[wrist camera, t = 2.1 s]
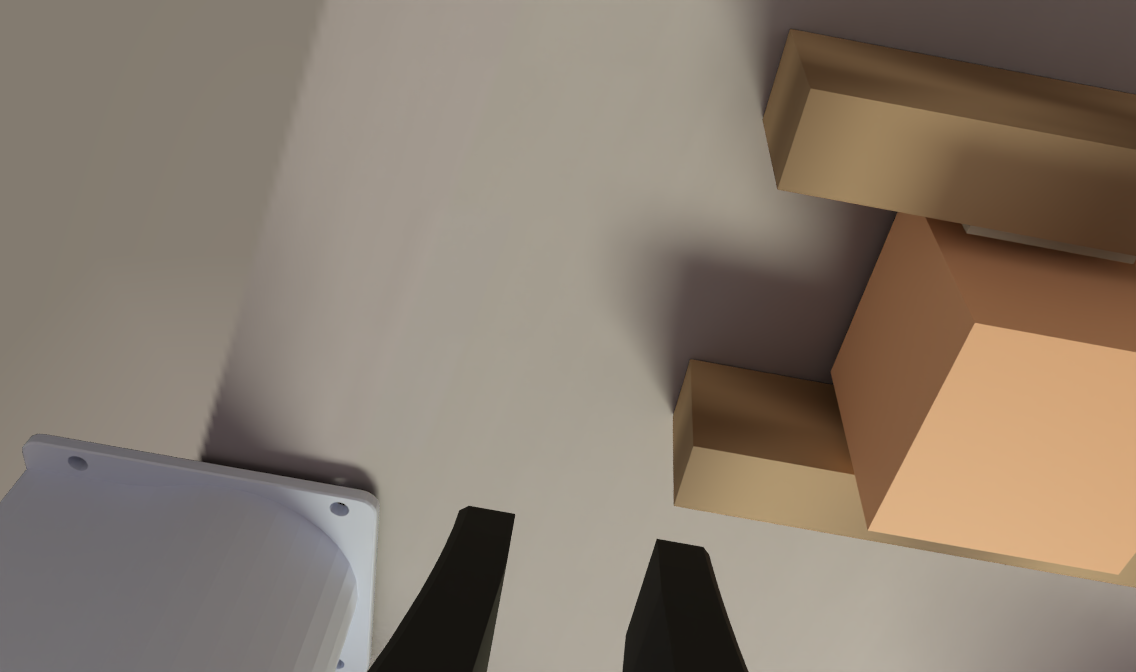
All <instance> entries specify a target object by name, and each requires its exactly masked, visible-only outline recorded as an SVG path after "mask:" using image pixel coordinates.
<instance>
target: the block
mask: <svg viewBox="0 0 1136 672" xmlns="http://www.w3.org/2000/svg"><path fill="white" fill-rule="evenodd" d="M831 376H832V380H833V384H834V389H835V393H836V397H837V401H838V406H839V410H840V414H841V419H842V423H843V427H844V431H845V436H846V440H847V444H848V449H849V453H850V457H851V461H852V466H853V470H854V474H855V478H856V483H857V487H858V491H859V496H860V500H861V504H862V508H863V513H864V517H865V521H866V526H867V530H868V531H874V532H879V533H885V534H891V535H896V536H902V537H908V538H913V539H919V540H925V541H930V542H936V543H942V544H947V545H953V546H958V547H964V548H970V549H975V550H981V551H987V552H992V553H998V554H1004V555H1009V556H1015V557H1021V558H1026V559H1032V560H1037V561H1043V562H1049V563H1054V564H1060V565H1066V566H1071V567H1077V568H1083V569H1088V570H1094V571H1099V572H1105V573H1111V574H1116V575H1119V573H1120V572H1121V571H1122V570H1123V568H1124V567H1125V566H1126V564H1127V563H1128V562H1129V561H1130V559H1131V558H1132V557H1133V556H1134V554H1135V553H1136V260H1135V262H1134V263H1133V264H1129V263H1124V262H1119V261H1113V260H1108V259H1102V258H1097V257H1092V256H1086V255H1081V254H1076V253H1070V252H1065V251H1059V250H1054V249H1049V248H1043V247H1038V246H1033V245H1027V244H1022V243H1016V242H1011V241H1006V240H1000V239H995V238H989V237H984V236H979V235H973V234H968V233H966V231H965V229H964V227H963V225H962V224H961V223H955V222H950V221H945V220H939V219H934V218H929V217H923V216H918V215H912V214H907V213H902V212H898V213H897V215H896V217H895V220H894V222H893V225H892V227H891V229H890V232H889V234H888V236H887V239H886V241H885V244H884V246H883V248H882V251H881V253H880V255H879V258H878V260H877V263H876V265H875V267H874V270H873V272H872V275H871V277H870V279H869V282H868V284H867V286H866V289H865V291H864V294H863V296H862V298H861V301H860V303H859V305H858V308H857V310H856V313H855V315H854V317H853V320H852V322H851V325H850V327H849V329H848V332H847V334H846V336H845V339H844V341H843V344H842V346H841V348H840V351H839V353H838V356H837V358H836V360H835V363H834V365H833V367H832V370H831Z"/></svg>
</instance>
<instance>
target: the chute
mask: <svg viewBox="0 0 1136 672" xmlns="http://www.w3.org/2000/svg"><path fill="white" fill-rule="evenodd" d="M763 124H764V129H765V133H766V138H767V143H768V147H769V152H770V157H771V161H772V166H773V171H774V175H775V180H776V185H777V189H778V190H783V191H789V192H794V193H800V194H805V195H810V196H816V197H821V198H826V199H832V200H837V201H843V202H848V203H853V204H859V205H864V206H869V207H875V208H880V209H886V210H891V211H896V212H902V213H907V214H912V215H918V216H923V217H929V218H934V219H939V220H945V221H950V222H955V223H961V224H962V225H963V227H964V229H965V231H966V233H968V234H973V235H979V236H984V237H989V238H995V239H1000V240H1006V241H1011V242H1016V243H1022V244H1027V245H1033V246H1038V247H1043V248H1049V249H1054V250H1059V251H1065V252H1070V253H1076V254H1081V255H1086V256H1092V257H1097V258H1102V259H1108V260H1113V261H1119V262H1124V263H1129V264H1133V263H1134V262H1135V260H1136V95H1135V94H1130V93H1125V92H1119V91H1114V90H1109V89H1104V88H1098V87H1093V86H1088V85H1083V84H1077V83H1072V82H1067V81H1062V80H1056V79H1051V78H1046V77H1041V76H1035V75H1030V74H1025V73H1020V72H1014V71H1009V70H1004V69H999V68H993V67H988V66H983V65H978V64H972V63H967V62H962V61H957V60H951V59H946V58H941V57H936V56H930V55H925V54H920V53H915V52H909V51H904V50H899V49H894V48H888V47H883V46H878V45H873V44H867V43H862V42H857V41H852V40H846V39H841V38H836V37H831V36H825V35H820V34H815V33H810V32H804V31H799V30H794V29H790V31H789V34H788V37H787V41H786V44H785V47H784V51H783V54H782V57H781V60H780V64H779V67H778V70H777V74H776V77H775V80H774V84H773V87H772V90H771V94H770V97H769V100H768V103H767V107H766V110H765V113H764V117H763ZM673 475H674V506H678V507H683V508H689V509H694V510H700V511H706V512H711V513H717V514H723V515H728V516H734V517H740V518H745V519H751V520H757V521H762V522H768V523H774V524H779V525H785V526H791V527H796V528H802V529H807V530H813V531H819V532H824V533H830V534H836V535H841V536H847V537H853V538H858V539H864V540H870V541H875V542H881V543H887V544H892V545H898V546H904V547H909V548H915V549H920V550H926V551H932V552H937V553H943V554H949V555H954V556H960V557H966V558H971V559H977V560H983V561H988V562H994V563H1000V564H1005V565H1011V566H1017V567H1022V568H1028V569H1033V570H1039V571H1045V572H1050V573H1056V574H1062V575H1067V576H1073V577H1079V578H1084V579H1090V580H1096V581H1101V582H1107V583H1113V584H1118V585H1124V586H1130V587H1135V588H1136V553H1135V554H1134V556H1133V557H1132V558H1131V559H1130V561H1129V562H1128V563H1127V564H1126V566H1125V567H1124V568H1123V570H1122V571H1121V572H1120V573H1119V575H1116V574H1111V573H1105V572H1099V571H1094V570H1088V569H1083V568H1077V567H1071V566H1066V565H1060V564H1054V563H1049V562H1043V561H1037V560H1032V559H1026V558H1021V557H1015V556H1009V555H1004V554H998V553H992V552H987V551H981V550H975V549H970V548H964V547H958V546H953V545H947V544H942V543H936V542H930V541H925V540H919V539H913V538H908V537H902V536H896V535H891V534H885V533H879V532H874V531H868V530H867V526H866V521H865V517H864V513H863V508H862V504H861V500H860V496H859V491H858V487H857V483H856V478H855V474H854V470H853V466H852V461H851V457H850V453H849V449H848V444H847V440H846V436H845V431H844V427H843V423H842V419H841V414H840V410H839V406H838V401H837V397H836V393H835V389H834V385H831V384H825V383H820V382H814V381H809V380H803V379H798V378H792V377H787V376H781V375H776V374H770V373H764V372H759V371H753V370H748V369H742V368H737V367H731V366H726V365H720V364H715V363H709V362H704V361H698V360H693V359H690V362H689V365H688V368H687V372H686V375H685V378H684V381H683V385H682V388H681V391H680V395H679V398H678V401H677V405H676V408H675V411H674V415H673Z"/></svg>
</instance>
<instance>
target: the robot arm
mask: <svg viewBox="0 0 1136 672" xmlns="http://www.w3.org/2000/svg"><path fill="white" fill-rule="evenodd" d="M22 450H23V451H22V453H23V456H24V460H25V464H26V468H27V470H26V471H25V472H24V473H23V474H22V476H21V477H20V478H19V479H18V480H17V482H16V483H15V484H14V486H13V487H12V488H11V489H10V491H9V492H8V493H7V494H6V496H5V497H4V498H3V499H2V501H1V502H0V672H366V671H367V670H368V667H369V664H370V660H371V647H372V630H373V613H374V596H375V578H376V561H377V544H378V527H379V510H380V505H379V501H378V500H377V498H376V497H375V496H374V495H372V494H371V493H369V492H367V491H364V490H359V489H353V488H348V487H342V486H336V485H331V484H325V483H319V482H314V481H308V480H302V479H297V478H291V477H285V476H280V475H274V474H268V473H263V472H257V471H251V470H246V469H240V468H234V467H228V466H223V465H217V464H211V463H206V462H200V461H194V460H189V459H183V458H177V457H172V456H166V455H160V454H154V453H149V452H143V451H138V450H132V449H126V448H120V447H115V446H109V445H103V444H97V443H92V442H86V441H81V440H75V439H69V438H63V437H58V436H52V435H47V434H36V435H33V436H31V438H30V439H29V440H28V441H27V442H26V444H25V445H24V446H23V449H22ZM337 502H340V503H343V504H345V505H341V504H338V503H337ZM514 518H515V514H512V513H507V512H501V511H495V510H489V509H484V508H478V507H472V506H468V507H466V508H464V509H461V510H459V513H458V516H457V518H456V521H455V524H454V527H453V529H452V531H451V534H450V536H449V538H448V540H447V542H446V545H445V547H444V549H443V551H442V553H441V555H440V557H439V559H438V561H437V562H436V564H435V566H434V568H433V570H432V572H431V573H430V575H429V577H428V579H427V581H426V582H425V584H424V586H423V588H422V589H421V591H420V593H419V594H418V596H417V598H416V599H415V601H414V602H413V604H412V606H411V607H410V609H409V610H408V612H407V614H406V615H405V617H404V618H403V620H402V622H401V623H400V625H399V626H398V628H397V630H396V631H395V633H394V634H393V636H392V637H391V639H390V640H389V642H388V643H387V645H386V646H385V648H384V649H383V651H382V652H381V654H380V655H379V656H378V658H377V659H376V661H375V662H374V663H373V665H372V666H371V667H370V669H369V670H368V672H487V667H488V662H489V656H490V651H491V645H492V640H493V634H494V629H495V624H496V618H497V613H498V607H499V602H500V596H501V591H502V586H503V580H504V575H505V569H506V564H507V558H508V553H509V547H510V541H511V535H512V530H513V524H514ZM623 672H748V670H747V667H746V664H745V662H744V659H743V657H742V654H741V651H740V649H739V646H738V643H737V641H736V638H735V635H734V632H733V629H732V627H731V624H730V621H729V618H728V615H727V612H726V609H725V606H724V603H723V600H722V597H721V594H720V591H719V588H718V584H717V581H716V578H715V574H714V571H713V567H712V564H711V560H710V556H709V554H708V553H707V551H706V550H705V549H704V547H700V546H694V545H688V544H683V543H677V542H671V541H666V540H660V539H657V540H656V543H655V547H654V550H653V553H652V556H651V559H650V562H649V565H648V568H647V571H646V574H645V578H644V581H643V584H642V587H641V590H640V593H639V596H638V599H637V602H636V606H635V609H634V612H633V615H632V618H631V621H630V624H629V627H628V630H627V633H626V640H625V651H624V662H623Z"/></svg>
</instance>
